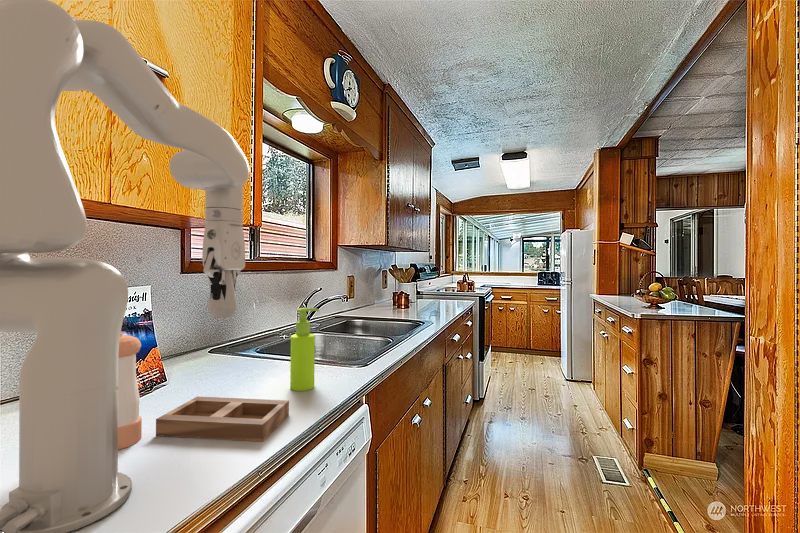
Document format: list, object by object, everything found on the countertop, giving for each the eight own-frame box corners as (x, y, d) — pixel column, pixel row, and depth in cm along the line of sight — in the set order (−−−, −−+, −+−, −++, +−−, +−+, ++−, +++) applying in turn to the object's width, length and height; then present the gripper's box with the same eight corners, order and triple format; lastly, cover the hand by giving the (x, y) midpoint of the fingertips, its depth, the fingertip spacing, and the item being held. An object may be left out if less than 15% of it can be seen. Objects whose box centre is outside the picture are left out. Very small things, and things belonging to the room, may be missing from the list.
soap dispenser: (320, 389, 96) (320, 308, 96) (291, 392, 94) (291, 309, 94) (316, 382, 102) (317, 306, 101) (289, 384, 99) (290, 307, 99)
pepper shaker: (78, 448, 64) (78, 334, 64) (120, 430, 71) (121, 327, 71) (111, 454, 62) (112, 336, 62) (151, 435, 69) (152, 329, 69)
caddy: (262, 441, 67) (262, 424, 67) (155, 435, 69) (155, 419, 69) (288, 415, 79) (289, 400, 79) (197, 410, 81) (197, 396, 81)
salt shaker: (225, 318, 81) (226, 256, 81) (201, 317, 82) (202, 256, 82) (242, 315, 86) (243, 257, 86) (219, 314, 87) (220, 257, 88)
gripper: (220, 212, 76) (219, 306, 76) (257, 223, 92) (256, 300, 92) (184, 212, 76) (182, 305, 76) (227, 223, 93) (226, 299, 93)
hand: (223, 301), depth 84 cm, fingers closed on salt shaker, 3 cm apart
